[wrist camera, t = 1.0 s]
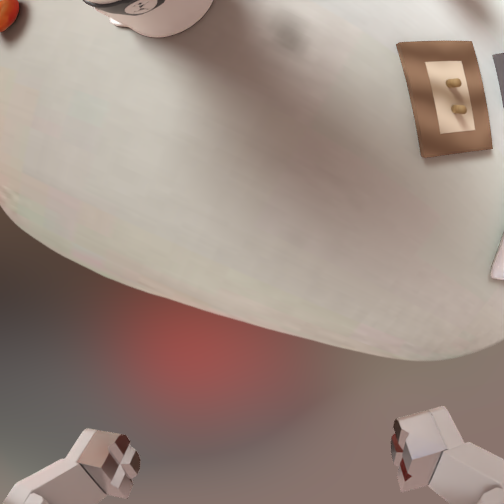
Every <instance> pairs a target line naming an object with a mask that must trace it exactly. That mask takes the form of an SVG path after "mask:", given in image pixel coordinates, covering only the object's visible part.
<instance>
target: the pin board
mask: <svg viewBox="0 0 504 504" xmlns="http://www.w3.org/2000/svg"><path fill="white" fill-rule="evenodd" d="M396 46H397V50H398V53H399V56H400V60H401V63H402V67H403V71H404V75H405V78H406V82H407V86H408V91H409V95H410V99H411V104H412V109H413V113H414V118H415V123H416V129H417V134H418V140H419V146H420V153H421V156H422V157H424V158H427V157H434V156H441V155H448V154H455V153H463V152H471V151H479V150H487V149H493V147H492V138H491V130H490V123H489V116H488V110H487V104H486V98H485V93H484V88H483V83H482V79H481V74H480V70H479V66H478V62H477V58H476V54H475V51H474V47H473V44H472V41H417V42H400V43H398V44H396Z"/></svg>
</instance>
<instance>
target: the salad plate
mask: <svg viewBox="0 0 504 504" xmlns="http://www.w3.org/2000/svg"><path fill="white" fill-rule="evenodd" d="M491 277H492V278H494V279H498V280H504V233H503V236H502V239H501V242H500V245H499V248H498V251H497V253H496V256H495V258H494V261H493V264H492V268H491Z"/></svg>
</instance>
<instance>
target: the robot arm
mask: <svg viewBox="0 0 504 504" xmlns="http://www.w3.org/2000/svg"><path fill="white" fill-rule="evenodd" d="M0 1H2V0H0ZM83 1H84V2H85V3H86V4H88V5H90V6H91V7H93V8H95V9H96V10H97V11H99V12H101V13H102V14H104V15H106V16H108V17H110V22H111V23H112V24H114V25H116V26H122V27H129V28H131V29H133V30H134V31H136V32H137V33H139V34H141V35H144V36H148V37H166V36H171V35H174V34H177V33H180V32H182V31H184V30H186V29H187V28H189V27H191V26H192V25H193V24H195V23H196V22H197V21H198V20H200V19H201V18H202V17H203V15H204V14H205V13H206V12H207V10H208V9H209V7H210V6H211V4H212V2H213V0H83ZM393 428H394V431H395V434H394V435H393V436H392V437H391V455H392V460H393V464H394V465H396V466H397V467H399V469H398V473H397V478H398V482H399V486H400V489H401V492H405V491H409V490H413V489H417V488H420V487H424V486H427V485H429V487H430V488H431V489H432V490H433V491H435V492H436V493H437V494H439V495H440V496H441V497H442V498H444V499H445V500H446V501H447V502H449V503H450V504H504V459H502V458H500V457H498V456H496V455H494V454H492V453H490V452H488V451H486V450H484V449H482V448H480V447H478V446H476V445H474V444H472V443H471V442H467V443H464V441H463V439H462V437H461V435H460V433H459V431H458V429H457V427H456V425H455V423H454V421H453V419H452V418H451V416H450V414H449V412H448V410H447V408H446V407H445V406H440V407H437V408H433V409H430V410H425V411H422V412H419V413H415V414H411V415H408V416H404V417H400V418H396V419H395V421H394V425H393ZM129 444H130V440H129V439H128V437H127V436H126V435H123V434H117V433H111V432H105V431H100V430H94V429H88V428H87V429H85V430H84V431H83V432H82V433H81V435H80V437H79V438H78V440H77V441H76V443H75V444H74V446H73V447H72V449H71V451H70V452H69V453H68V455H67V457H66V458H65V459H60V460H59V461H57V462H55V463H53V464H51V465H49V466H47V467H46V468H44V469H42V470H40V471H38V472H36V473H34V474H33V475H31V476H29V477H27V478H25V479H23V480H21V481H19V482H17V483H16V484H15V485H14V487H13V488H12V490H11V491H10V493H9V494H8V496H7V497H6V499H5V500H4V502H3V504H97V503H98V502H100V501H101V500H102V499H103V498H104V497H106V495H111V496H116V497H121V498H126V499H127V498H128V496H129V494H130V491H131V489H132V486H133V482H132V478H133V477H135V476H136V475H137V474H138V472H139V470H140V457H139V454H138V453H137V451H136V450H135V449H134V448H132V447H131V446H130V445H129Z"/></svg>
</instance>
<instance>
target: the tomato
mask: <svg viewBox="0 0 504 504" xmlns="http://www.w3.org/2000/svg"><path fill="white" fill-rule="evenodd" d="M18 13H19V2H18V1H17V0H2V1H0V32H3V31H5V30H6V29H7V28H8V27H10V25H12V24H13V22H14V21H15V20H16V18H17V15H18Z"/></svg>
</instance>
